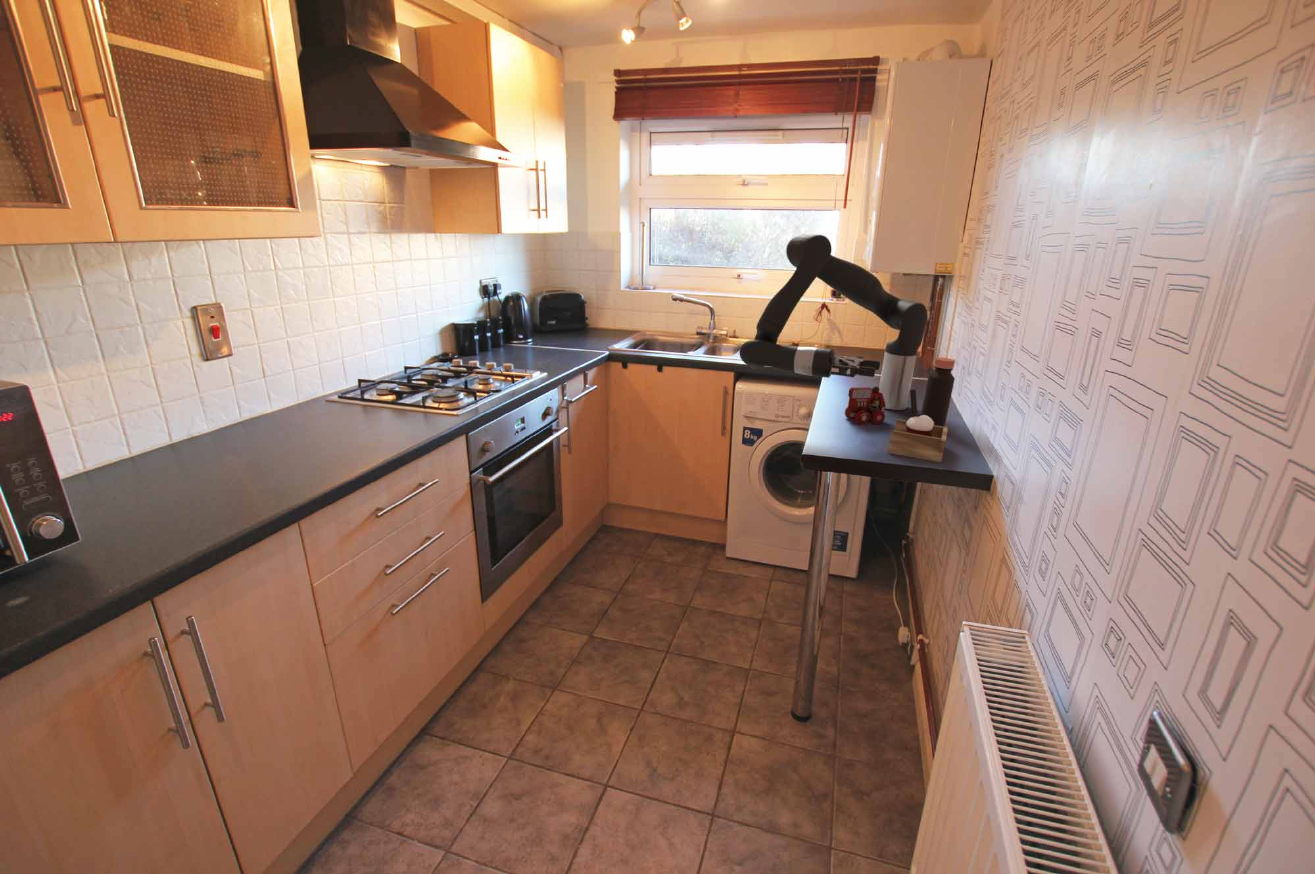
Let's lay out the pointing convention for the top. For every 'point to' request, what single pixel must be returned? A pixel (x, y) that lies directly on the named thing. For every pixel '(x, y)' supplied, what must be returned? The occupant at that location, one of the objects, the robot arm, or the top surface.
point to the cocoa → (918, 420)
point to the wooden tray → (918, 442)
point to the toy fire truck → (865, 405)
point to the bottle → (939, 391)
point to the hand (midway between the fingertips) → (877, 369)
